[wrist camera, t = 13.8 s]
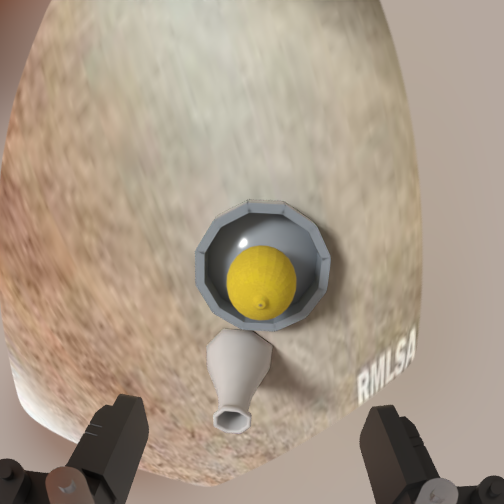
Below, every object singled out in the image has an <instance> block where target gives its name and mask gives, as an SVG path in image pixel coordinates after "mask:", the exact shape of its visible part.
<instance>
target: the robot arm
mask: <svg viewBox="0 0 504 504" xmlns="http://www.w3.org/2000/svg"><path fill="white" fill-rule="evenodd" d="M148 434H149V426H148V421H147V417H146V413H145V409H144V405H143V401H142V398H141V397H136V396H130V395H125V394H120V395H119V396H118V397H117V399H116V401H115V403H114V404H113V406H110V405H105V406H103V407H102V408H101V409H99V410H98V411H97V412H96V413H95V414H94V416H93V418H92V420H91V421H90V425H88V427H87V428H86V430H85V433H84V434H83V436H82V437H81V439H80V441H79V443H78V445H77V447H76V448H75V450H74V452H73V454H72V456H71V457H70V459H69V461H68V463H67V464H66V465H65V466H61V467H57V468H55V469H53V470H52V471H51V472H50V473H40V472H33V471H26V470H24V469H23V468H22V466H21V465H20V464H19V463H18V462H17V461H15V460H12V459H1V460H0V504H125V502H126V500H127V497H128V494H129V491H130V488H131V485H132V482H133V479H134V477H135V474H136V471H137V468H138V465H139V462H140V459H141V457H142V454H143V451H144V448H145V445H146V443H147V440H148ZM360 449H361V453H362V456H363V459H364V463H365V466H366V469H367V473H368V477H369V480H370V483H371V487H372V491H373V494H374V498H375V501H376V504H504V479H503V478H502V477H499V476H489V477H486V478H485V479H484V480H483V481H482V482H481V483H480V484H479V485H478V486H463V487H456V486H455V485H454V484H453V483H452V482H451V481H449V480H447V479H444V478H440V476H439V474H438V472H437V470H436V468H435V466H434V464H433V462H432V460H431V458H430V455H429V453H428V451H427V449H426V447H425V446H424V443H423V441H422V439H421V438H420V435H419V433H418V431H417V429H416V427H415V425H414V424H413V423H412V422H411V421H410V420H408V419H407V418H406V417H405V416H404V417H399V415H398V413H397V411H396V409H395V407H394V406H393V405H384V406H376V407H372V408H371V409H370V411H369V414H368V417H367V419H366V422H365V424H364V427H363V429H362V432H361V435H360Z"/></svg>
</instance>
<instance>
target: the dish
mask: <svg viewBox="0 0 504 504" xmlns="http://www.w3.org/2000/svg"><path fill="white" fill-rule="evenodd" d="M258 245H263V246H270V247H274V248H276V249H278V250H279V251H281V252H283V253H284V254H285V255H286V256H287V257H288V258H289V260H290V262H291V263H292V265H293V267H294V270H295V274H296V291H295V294H294V298H293V300H292V302H291V303H290V305H289V307H288V308H287V309H286V310H285V311H284V312H283V313H282V314H281V315H279V316H277V317H275V318H273V319H269V320H253V319H250V318H248V317H245V316H244V315H242V314H241V313H239V312H238V310H237V309H236V308H235V307H234V306H233V304H232V302H231V300H230V298H229V296H228V291H227V274H228V271H229V268H230V265H231V264H232V262H233V261H234V259H235V258H236V257H237V256H238V255H239V254H240V253H241V252H242V251H244V250H246V249H248V248H250V247H253V246H258ZM330 263H331V256H330V254H329V252H328V249H327V247H326V245H325V243H324V241H323V238H322V236H321V234H320V232H319V230H318V227H317V226H316V225H315V223H314V222H313V221H312V220H311V219H309V218H308V217H306V216H305V215H303V214H302V213H300V212H299V211H297V210H296V209H294V208H293V207H291V206H290V205H288V204H287V203H285V202H283V201H270V200H250V199H249V201H248V200H246V201H244V202H242V203H240V204H238V205H236V206H235V207H233V208H231V209H229V210H227V211H225V212H223V213H221V214H219V215H218V216H217V217H216V218H215V219H214V221H213V222H212V224H211V225H210V227H209V229H208V230H207V232H206V234H205V235H204V237H203V239H202V240H201V242H200V243H199V245H198V247H197V248H196V251H195V283H196V286H197V288H198V290H199V291H200V293H201V295H202V296H203V298H204V299H205V301H206V303H207V304H208V306H209V308H210V309H211V311H212V312H214V314H215V315H217V316H219V317H220V318H222V319H224V320H226V321H227V322H229V323H231V324H233V325H234V326H236V327H238V328H240V329H241V330H242V328H243V330H256V331H275V330H276V331H278V330H280V329H282V328H284V327H287V326H289V325H291V324H293V323H296V322H298V321H300V320H302V319H304V318H306V317H307V316H308V315H309V314H310V312H311V311H312V310H313V308H314V307H315V306H316V305H317V303H318V302H319V301H320V299H321V298H322V297H323V295H324V294H325V293H326V291H327V286H328V278H329V271H330ZM305 316H306V317H305Z"/></svg>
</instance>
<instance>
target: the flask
mask: <svg viewBox="0 0 504 504" xmlns="http://www.w3.org/2000/svg"><path fill="white" fill-rule="evenodd" d="M206 347H207V369H208V372H209V374H210V377H211V379H212V382H213V384H214V387H215V390H216V393H217V396H218V402H219V406H218V410H217V411H216V412H215V413H214V415H213V420H214V427H216V428H218V429H220V430H222V431H223V432H225V433H235V434H241V433H243V432H244V431H246V430H247V429H248V428H250V427H251V416H252V415H251V413H250V412H248V409H249V406H250V402H251V399H252V397H253V395H254V393H255V392H256V390H257V388H258V386H259V385H260V383H261V381H262V380H263V378H264V377H265V375H266V374H267V372H268V370H269V369H270V365H271V356H272V347H273V346H272V345H271V344H269V343H268V342H267V341H265V340H264V339H262V338H261V337H260V336H258V335H257V334H256V333H254V332H253V331H251V330H236V329H222V330H221V331H220V332H219V333H218V334H217V335H216V336H215V338H214V339H213V340H212V341H211V342H210V343H209V344H208V345H207V346H206Z"/></svg>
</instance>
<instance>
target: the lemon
mask: <svg viewBox="0 0 504 504" xmlns="http://www.w3.org/2000/svg"><path fill="white" fill-rule="evenodd" d="M227 291H228V296H229V298H230V300H231V302H232V304H233V306H234V307H235V308H236V309H237V310H238V312H239V313H241V314H242V315H244V316H245V317H248V318H250V319H253V320H269V319H273V318H275V317H277V316H279V315H281V314H282V313H283V312H284V311H285V310H286V309H287V308H288V307H289V305H290V303H291V302H292V300H293V298H294V294H295V291H296V274H295V270H294V267H293V265H292V263H291V262H290V260H289V258H288V257H287V256H286V255H285V254H284V253H283V252H281V251H279V250H278V249H276V248H274V247H270V246H263V245H258V246H253V247H250V248H248V249H246V250H244V251H242V252H241V253H240V254H239V255H238V256H237V257H236V258H235V259H234V261H233V262H232V264H231V265H230V268H229V271H228V274H227Z"/></svg>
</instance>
